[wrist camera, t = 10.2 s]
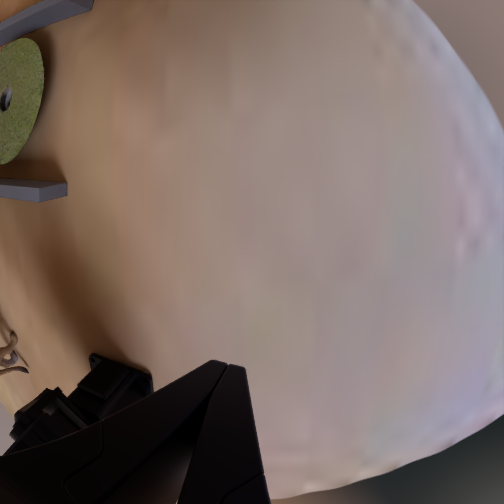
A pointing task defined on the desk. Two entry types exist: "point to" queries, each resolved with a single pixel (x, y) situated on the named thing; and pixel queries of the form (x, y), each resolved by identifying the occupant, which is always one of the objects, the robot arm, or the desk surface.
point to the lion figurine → (6, 363)
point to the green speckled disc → (19, 94)
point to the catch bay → (32, 18)
